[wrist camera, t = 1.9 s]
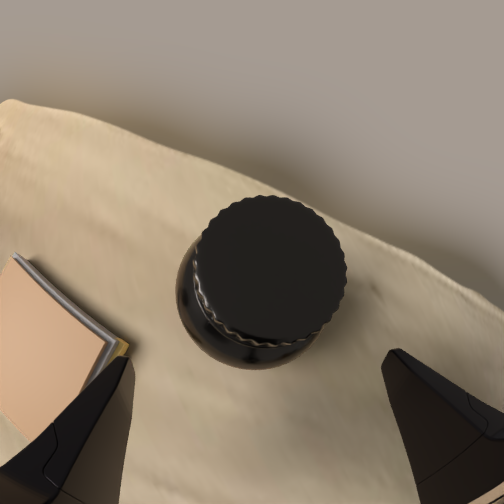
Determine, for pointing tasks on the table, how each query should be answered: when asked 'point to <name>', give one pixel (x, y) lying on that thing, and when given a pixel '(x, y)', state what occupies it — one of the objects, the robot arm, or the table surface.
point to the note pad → (45, 348)
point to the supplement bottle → (260, 283)
